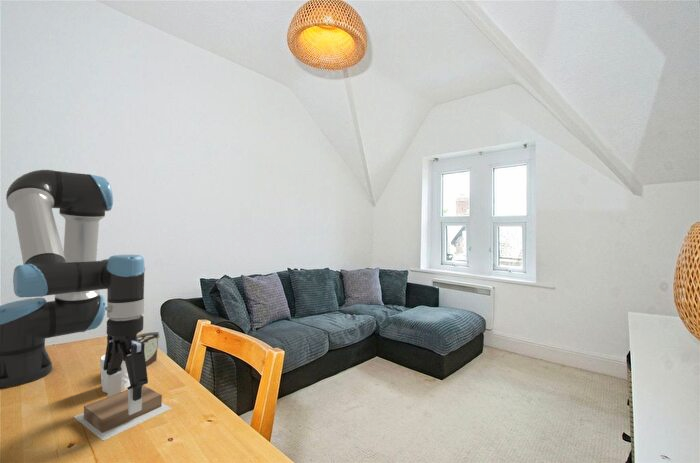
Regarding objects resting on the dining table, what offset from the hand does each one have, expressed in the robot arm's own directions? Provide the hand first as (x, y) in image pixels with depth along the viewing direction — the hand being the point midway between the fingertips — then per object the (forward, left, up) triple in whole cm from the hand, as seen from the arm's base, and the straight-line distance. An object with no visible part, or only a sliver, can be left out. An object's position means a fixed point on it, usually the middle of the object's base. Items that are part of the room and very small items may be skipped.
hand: (124, 405), depth 80 cm
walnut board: (0, 0, -2) cm, 2 cm away
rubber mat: (0, 0, -3) cm, 3 cm away
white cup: (-16, +5, -3) cm, 17 cm away
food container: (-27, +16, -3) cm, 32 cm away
